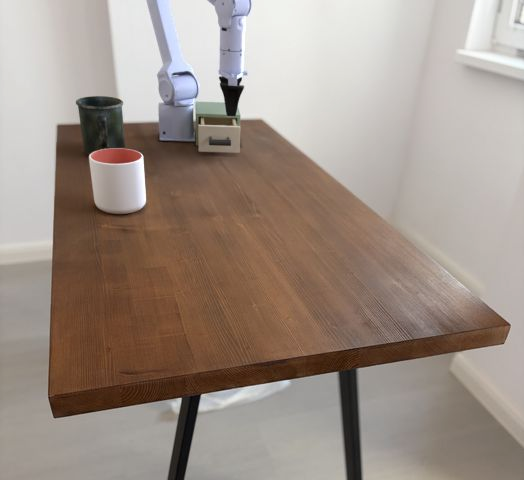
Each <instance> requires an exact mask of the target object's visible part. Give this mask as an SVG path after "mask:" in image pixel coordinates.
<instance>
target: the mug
mask: <svg viewBox="0 0 524 480" xmlns="http://www.w3.org/2000/svg"><path fill="white" fill-rule="evenodd" d="M75 104H76V106H77V109H78V117H79V123H80V132H81V139H82V147H83V153H84V154H85V155H86V156H87V157H89V155H90V154H91V153H93V152H95V151H98V150H102V149H110V148H123V149H126V139H125V127H124V117H123V105H124V101H123V100H122V99H120V98H118V97H113V96H105V95H92V96H84V97H80V98H78V99H76V100H75Z"/></svg>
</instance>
